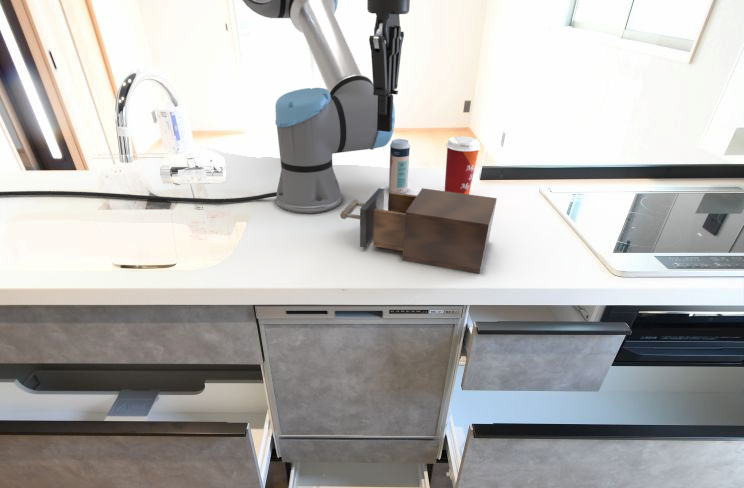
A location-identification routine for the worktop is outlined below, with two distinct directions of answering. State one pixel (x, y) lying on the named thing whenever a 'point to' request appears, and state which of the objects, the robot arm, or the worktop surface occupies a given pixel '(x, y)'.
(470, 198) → the cabinet
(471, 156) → the paper cup
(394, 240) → the drawer
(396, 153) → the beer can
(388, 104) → the robot arm
